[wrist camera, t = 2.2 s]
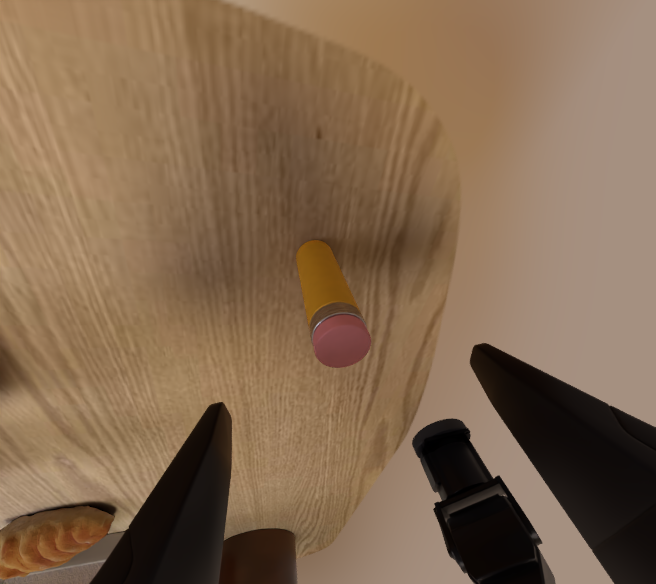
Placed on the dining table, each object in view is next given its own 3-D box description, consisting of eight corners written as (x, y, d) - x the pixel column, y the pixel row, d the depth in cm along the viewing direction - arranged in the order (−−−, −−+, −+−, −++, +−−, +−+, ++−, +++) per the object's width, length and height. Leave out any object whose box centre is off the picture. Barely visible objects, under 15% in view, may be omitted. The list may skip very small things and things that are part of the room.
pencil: (330, 236, 17) (371, 318, 10) (334, 269, 19) (373, 361, 12) (292, 243, 17) (309, 331, 10) (299, 276, 18) (317, 374, 11)
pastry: (91, 493, 27) (68, 542, 24) (132, 515, 31) (117, 560, 28) (-3, 521, 27) (-38, 575, 24) (51, 540, 31) (26, 589, 28)
